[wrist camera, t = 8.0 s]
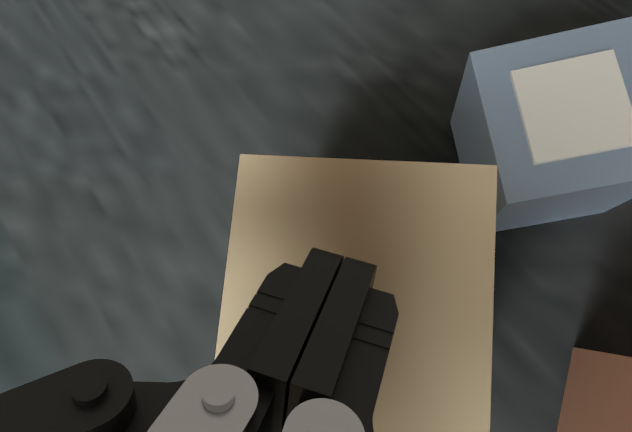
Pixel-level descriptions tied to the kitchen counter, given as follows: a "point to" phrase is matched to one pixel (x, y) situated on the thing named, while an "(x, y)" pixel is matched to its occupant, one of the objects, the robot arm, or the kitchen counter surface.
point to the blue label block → (551, 122)
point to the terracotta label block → (597, 393)
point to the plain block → (385, 268)
